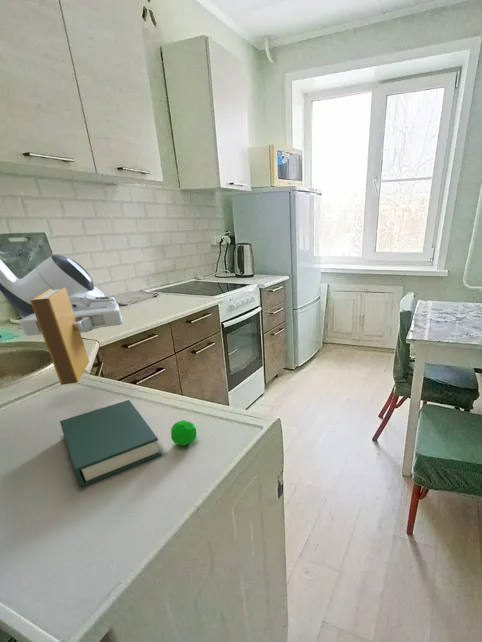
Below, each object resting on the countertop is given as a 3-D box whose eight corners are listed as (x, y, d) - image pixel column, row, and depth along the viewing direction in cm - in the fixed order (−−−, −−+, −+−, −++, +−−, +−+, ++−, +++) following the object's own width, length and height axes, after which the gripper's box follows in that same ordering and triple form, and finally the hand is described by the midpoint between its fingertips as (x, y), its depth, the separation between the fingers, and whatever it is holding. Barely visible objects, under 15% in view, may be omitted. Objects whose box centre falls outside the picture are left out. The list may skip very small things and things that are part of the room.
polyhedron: (178, 453, 68) (173, 432, 66) (169, 441, 72) (164, 422, 70) (202, 443, 71) (198, 423, 69) (192, 433, 74) (188, 413, 72)
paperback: (75, 363, 81) (49, 288, 74) (89, 361, 82) (65, 287, 74) (61, 385, 71) (29, 300, 63) (77, 382, 71) (48, 298, 64)
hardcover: (65, 436, 75) (59, 421, 73) (133, 414, 82) (129, 399, 81) (81, 487, 61) (74, 469, 59) (161, 455, 68) (157, 437, 66)
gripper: (27, 305, 83) (3, 320, 71) (121, 296, 88) (113, 308, 76) (37, 331, 85) (15, 349, 73) (127, 321, 90) (120, 336, 78)
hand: (66, 329), depth 75 cm, fingers closed on paperback, 3 cm apart
